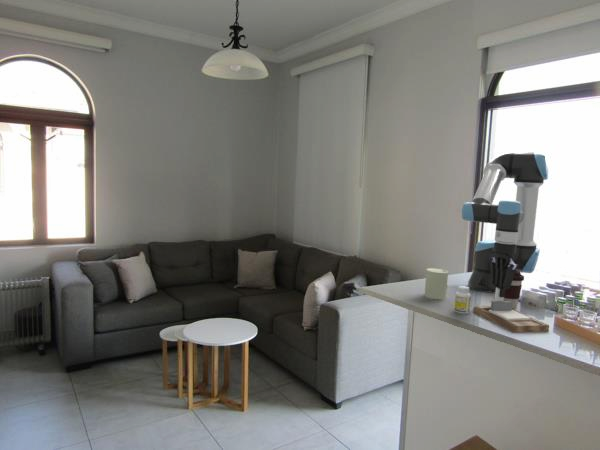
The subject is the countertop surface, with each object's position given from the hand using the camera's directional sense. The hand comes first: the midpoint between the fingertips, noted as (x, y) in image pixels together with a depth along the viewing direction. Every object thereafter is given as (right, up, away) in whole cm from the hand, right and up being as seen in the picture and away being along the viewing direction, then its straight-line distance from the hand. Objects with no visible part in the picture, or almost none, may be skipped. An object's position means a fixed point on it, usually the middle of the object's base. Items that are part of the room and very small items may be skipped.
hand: (498, 304), depth 157 cm
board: (+2, -5, -4) cm, 7 cm away
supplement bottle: (-12, -4, +4) cm, 13 cm away
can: (-16, -1, +25) cm, 30 cm away
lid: (+1, -3, -5) cm, 6 cm away
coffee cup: (+11, -4, +16) cm, 20 cm away
